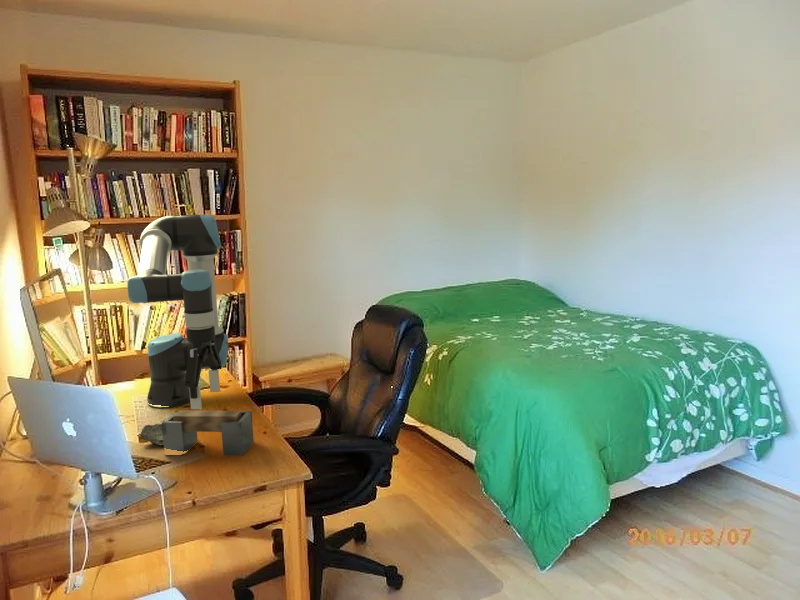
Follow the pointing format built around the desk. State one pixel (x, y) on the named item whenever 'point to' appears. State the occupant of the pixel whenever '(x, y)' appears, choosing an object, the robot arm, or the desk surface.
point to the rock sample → (153, 433)
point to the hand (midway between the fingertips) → (206, 400)
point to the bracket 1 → (177, 435)
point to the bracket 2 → (237, 435)
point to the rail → (205, 420)
